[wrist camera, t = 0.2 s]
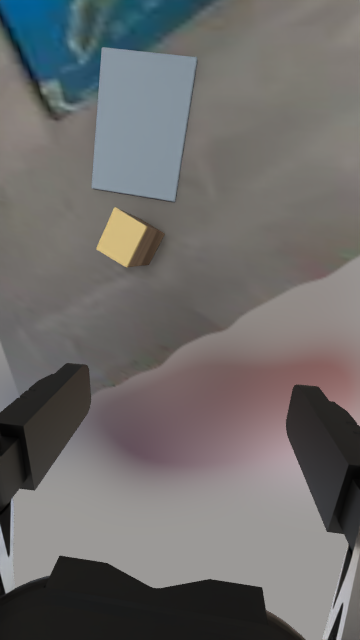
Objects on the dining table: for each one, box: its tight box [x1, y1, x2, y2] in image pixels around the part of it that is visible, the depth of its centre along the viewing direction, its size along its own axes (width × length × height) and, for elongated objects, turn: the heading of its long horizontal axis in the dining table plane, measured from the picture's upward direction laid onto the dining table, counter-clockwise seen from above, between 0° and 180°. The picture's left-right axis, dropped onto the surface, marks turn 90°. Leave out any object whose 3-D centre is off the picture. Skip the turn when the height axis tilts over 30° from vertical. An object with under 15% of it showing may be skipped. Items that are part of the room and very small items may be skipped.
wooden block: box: [96, 207, 165, 267], centre depth 32 cm, size 4×5×10 cm
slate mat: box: [92, 47, 197, 202], centre depth 33 cm, size 16×12×1 cm
